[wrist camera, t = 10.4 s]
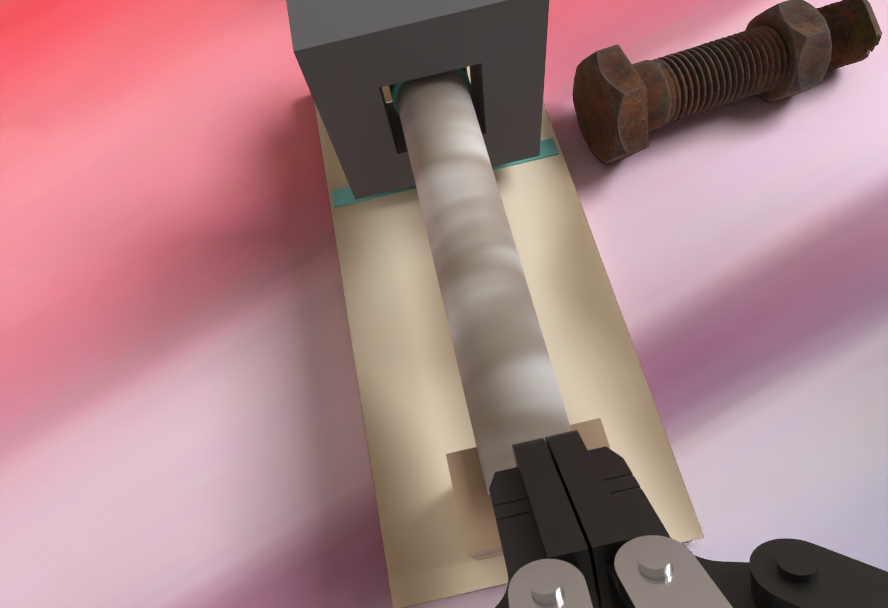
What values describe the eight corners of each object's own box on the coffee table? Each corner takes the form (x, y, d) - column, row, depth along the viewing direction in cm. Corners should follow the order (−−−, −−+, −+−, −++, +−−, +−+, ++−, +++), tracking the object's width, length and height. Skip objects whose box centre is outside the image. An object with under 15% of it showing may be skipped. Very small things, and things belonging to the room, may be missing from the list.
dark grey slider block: (523, 108, 30) (526, -66, 22) (539, 155, 29) (549, -11, 21) (346, 150, 30) (285, -8, 22) (355, 199, 29) (293, 51, 21)
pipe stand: (514, 44, 36) (514, -116, 28) (693, 539, 24) (786, 518, 16) (317, 91, 36) (258, -54, 28) (399, 607, 24) (341, 622, 16)
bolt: (833, 91, 35) (589, 171, 34) (810, 4, 34) (561, 81, 33) (923, 55, 29) (631, 150, 28) (896, -51, 29) (599, 42, 27)
